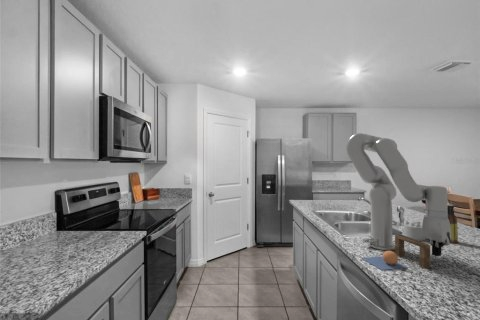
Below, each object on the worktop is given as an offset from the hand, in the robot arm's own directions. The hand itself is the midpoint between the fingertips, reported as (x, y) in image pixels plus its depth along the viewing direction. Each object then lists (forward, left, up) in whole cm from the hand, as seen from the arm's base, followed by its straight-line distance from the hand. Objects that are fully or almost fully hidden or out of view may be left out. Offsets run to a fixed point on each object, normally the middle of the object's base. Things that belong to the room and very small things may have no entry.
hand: (436, 255), depth 107 cm
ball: (-25, -2, +1) cm, 25 cm away
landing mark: (-27, 0, -2) cm, 27 cm away
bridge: (-13, 0, -2) cm, 13 cm away
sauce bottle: (+30, +18, -2) cm, 35 cm away
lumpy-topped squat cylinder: (+18, +28, -2) cm, 33 cm away
